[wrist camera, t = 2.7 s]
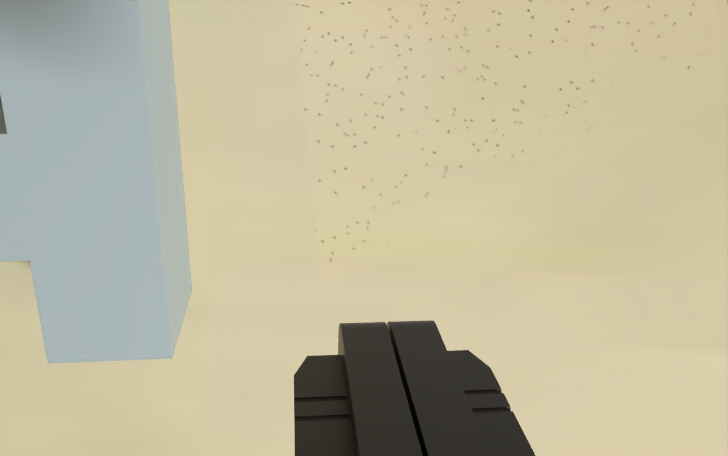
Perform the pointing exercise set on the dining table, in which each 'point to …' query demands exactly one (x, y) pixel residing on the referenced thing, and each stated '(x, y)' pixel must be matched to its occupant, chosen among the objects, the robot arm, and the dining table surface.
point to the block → (94, 174)
